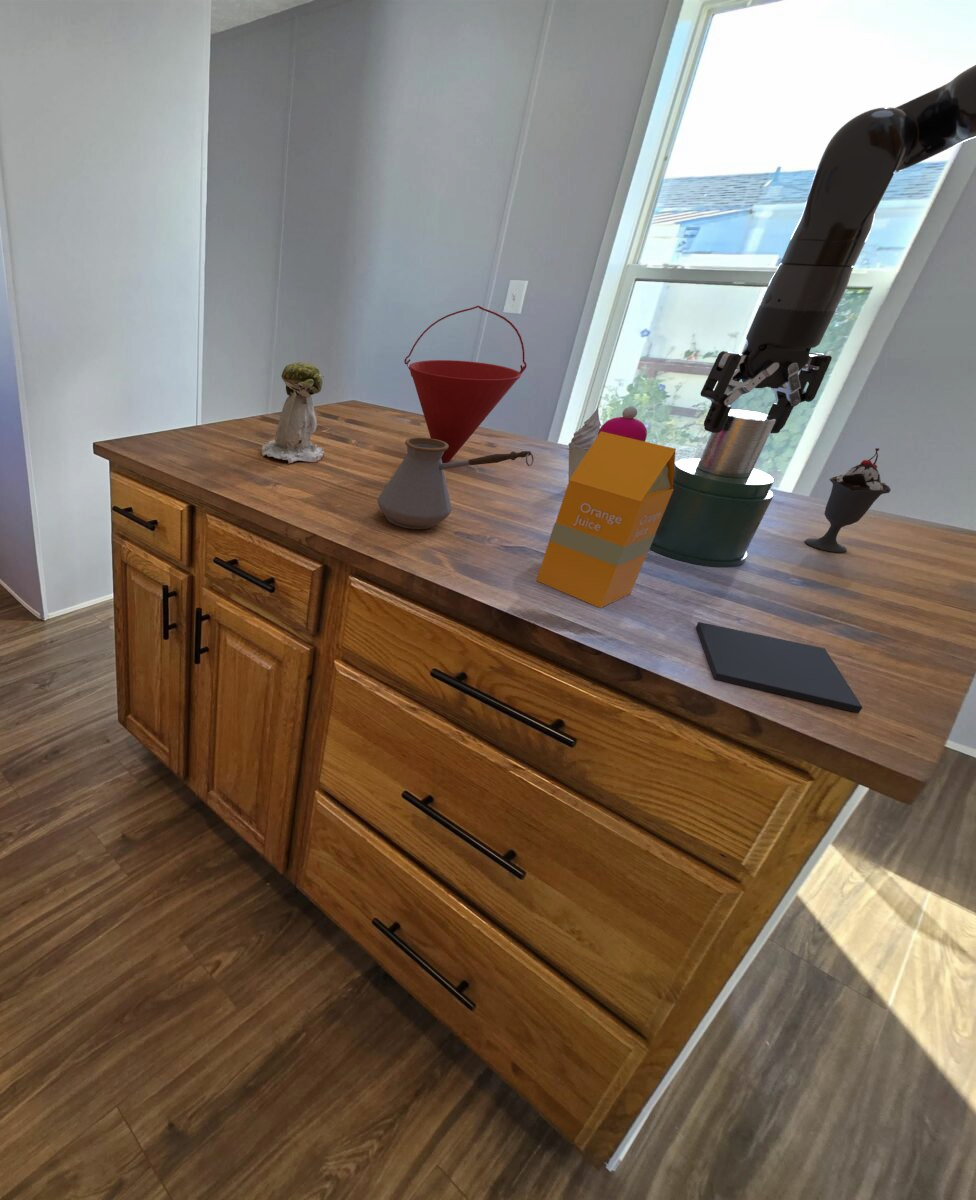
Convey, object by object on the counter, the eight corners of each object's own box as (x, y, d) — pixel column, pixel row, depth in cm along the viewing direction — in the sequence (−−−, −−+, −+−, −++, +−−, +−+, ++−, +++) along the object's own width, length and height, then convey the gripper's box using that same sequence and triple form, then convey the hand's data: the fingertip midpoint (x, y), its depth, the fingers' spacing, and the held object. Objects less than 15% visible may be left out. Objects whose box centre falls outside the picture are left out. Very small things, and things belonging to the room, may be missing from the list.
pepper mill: (558, 523, 107) (599, 399, 97) (608, 530, 105) (656, 404, 95) (562, 540, 101) (607, 409, 91) (616, 548, 99) (667, 415, 89)
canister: (734, 539, 103) (770, 465, 97) (755, 575, 92) (797, 494, 86) (632, 522, 108) (660, 451, 102) (641, 554, 97) (672, 476, 91)
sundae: (834, 538, 103) (886, 445, 96) (864, 556, 98) (923, 459, 90) (787, 535, 104) (835, 442, 97) (815, 553, 99) (869, 456, 91)
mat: (821, 653, 75) (825, 647, 74) (858, 713, 65) (863, 707, 65) (695, 627, 79) (698, 621, 79) (713, 679, 70) (717, 673, 70)
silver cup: (744, 468, 95) (770, 412, 91) (754, 480, 90) (782, 422, 86) (693, 461, 98) (716, 407, 94) (700, 473, 93) (725, 416, 89)
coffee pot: (361, 519, 107) (376, 427, 100) (397, 502, 114) (414, 415, 107) (489, 562, 94) (518, 460, 87) (521, 540, 101) (550, 444, 94)
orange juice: (566, 567, 93) (616, 427, 83) (631, 593, 86) (693, 444, 77) (534, 580, 89) (582, 435, 79) (600, 608, 83) (661, 454, 73)
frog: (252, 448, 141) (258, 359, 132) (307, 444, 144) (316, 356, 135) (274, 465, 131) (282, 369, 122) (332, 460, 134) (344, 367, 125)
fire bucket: (489, 458, 138) (530, 302, 123) (508, 489, 121) (558, 313, 106) (384, 449, 142) (410, 298, 127) (388, 478, 125) (419, 308, 110)
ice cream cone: (585, 495, 119) (614, 412, 111) (554, 490, 121) (580, 408, 113) (585, 487, 122) (613, 406, 115) (555, 482, 125) (580, 402, 117)
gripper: (769, 307, 79) (712, 439, 87) (879, 309, 80) (812, 439, 88) (721, 301, 86) (672, 424, 94) (823, 303, 87) (766, 425, 95)
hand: (740, 431), depth 91 cm, fingers open, 8 cm apart
